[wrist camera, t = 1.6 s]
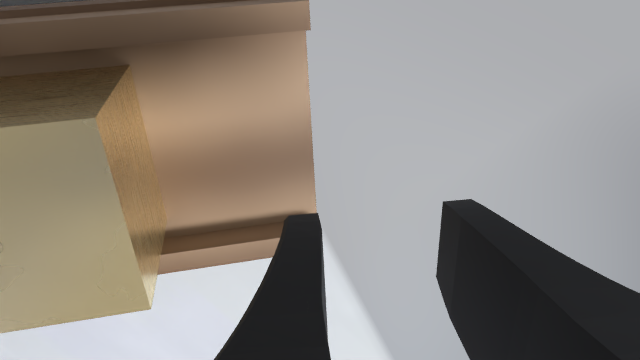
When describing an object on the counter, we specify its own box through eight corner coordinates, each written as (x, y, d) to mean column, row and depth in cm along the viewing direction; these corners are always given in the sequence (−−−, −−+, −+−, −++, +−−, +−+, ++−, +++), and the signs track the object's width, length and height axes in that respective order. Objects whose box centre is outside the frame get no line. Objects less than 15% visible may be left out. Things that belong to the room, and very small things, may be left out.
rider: (167, 219, 17) (151, 309, 13) (-1, 242, 16) (-73, 344, 12) (130, 64, 14) (94, 117, 10) (-74, 83, 13) (-195, 148, 9)
